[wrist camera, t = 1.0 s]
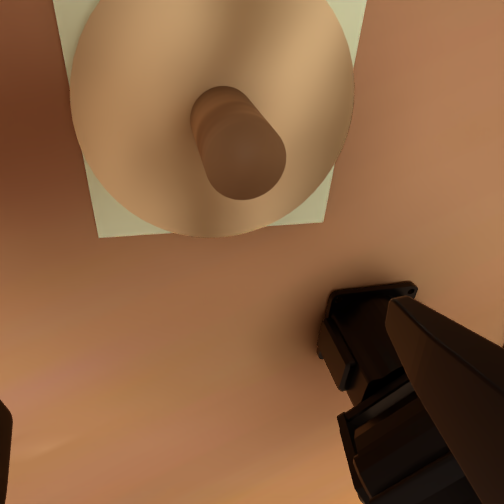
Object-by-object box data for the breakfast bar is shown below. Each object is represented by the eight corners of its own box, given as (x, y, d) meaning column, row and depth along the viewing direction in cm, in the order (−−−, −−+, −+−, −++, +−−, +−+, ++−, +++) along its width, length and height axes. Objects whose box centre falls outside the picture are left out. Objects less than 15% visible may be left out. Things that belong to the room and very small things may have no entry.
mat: (368, -42, 16) (375, -43, 15) (319, 217, 23) (323, 222, 22) (42, -73, 13) (38, -74, 13) (99, 231, 20) (98, 237, 20)
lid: (374, -43, 15) (465, -45, 11) (323, 221, 22) (366, 282, 18) (38, -74, 13) (-12, -94, 8) (98, 237, 20) (87, 313, 15)
